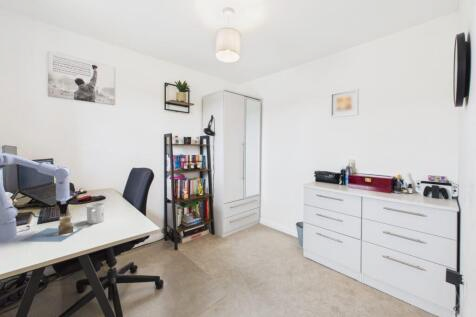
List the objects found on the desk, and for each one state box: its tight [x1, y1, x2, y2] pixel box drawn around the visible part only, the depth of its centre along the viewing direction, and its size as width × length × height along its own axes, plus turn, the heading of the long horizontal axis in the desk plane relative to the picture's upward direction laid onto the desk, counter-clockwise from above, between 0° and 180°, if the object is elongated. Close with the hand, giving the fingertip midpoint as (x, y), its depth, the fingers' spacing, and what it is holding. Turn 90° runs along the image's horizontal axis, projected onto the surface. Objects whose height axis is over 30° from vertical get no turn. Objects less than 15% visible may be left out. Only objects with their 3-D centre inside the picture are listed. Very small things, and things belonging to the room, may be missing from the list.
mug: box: [86, 202, 105, 225], centre depth 127 cm, size 12×9×11 cm
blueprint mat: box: [19, 227, 84, 243], centre depth 110 cm, size 20×16×1 cm
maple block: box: [59, 215, 72, 228], centre depth 112 cm, size 4×4×5 cm
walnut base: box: [57, 222, 74, 235], centre depth 113 cm, size 6×6×4 cm
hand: (63, 213), depth 113 cm, fingers closed
